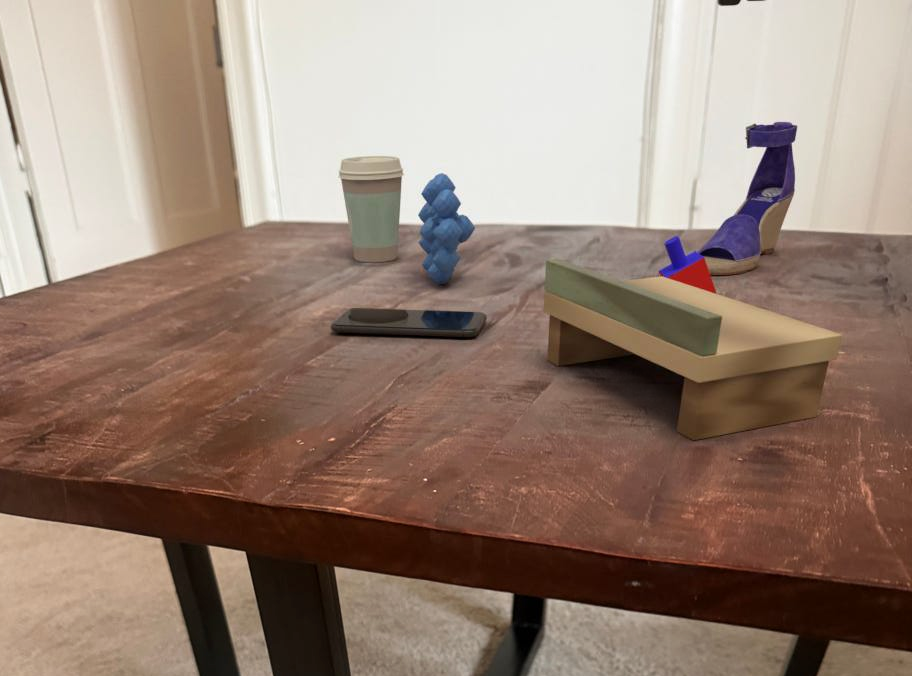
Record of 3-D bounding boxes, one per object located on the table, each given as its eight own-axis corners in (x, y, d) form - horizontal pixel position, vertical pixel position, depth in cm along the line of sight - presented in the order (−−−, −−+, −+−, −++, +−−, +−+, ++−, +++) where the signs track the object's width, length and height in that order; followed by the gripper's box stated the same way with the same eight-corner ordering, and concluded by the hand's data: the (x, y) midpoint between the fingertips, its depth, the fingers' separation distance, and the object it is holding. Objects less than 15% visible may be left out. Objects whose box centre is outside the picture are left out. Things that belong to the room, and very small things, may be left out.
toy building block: (674, 314, 96) (648, 246, 92) (711, 295, 95) (686, 225, 91) (682, 323, 93) (656, 252, 89) (720, 303, 92) (695, 231, 88)
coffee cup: (375, 250, 124) (370, 154, 117) (419, 256, 119) (416, 157, 113) (331, 260, 119) (323, 160, 112) (376, 267, 114) (370, 163, 107)
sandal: (668, 269, 109) (685, 130, 100) (752, 246, 120) (773, 119, 111) (726, 278, 104) (749, 133, 95) (808, 253, 115) (835, 121, 106)
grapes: (488, 291, 101) (489, 175, 94) (431, 296, 100) (429, 178, 93) (463, 271, 110) (462, 164, 104) (411, 275, 109) (407, 167, 103)
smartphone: (488, 319, 90) (349, 315, 93) (488, 311, 90) (348, 306, 92) (476, 339, 84) (328, 334, 87) (476, 330, 84) (327, 325, 86)
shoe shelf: (654, 343, 82) (665, 246, 77) (823, 416, 65) (851, 297, 60) (541, 360, 78) (545, 259, 73) (689, 442, 61) (707, 317, 56)
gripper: (852, -252, 70) (808, -2, 79) (787, -208, 82) (755, 5, 91) (759, -250, 70) (726, 0, 79) (707, -206, 82) (684, 7, 91)
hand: (742, 3), depth 85 cm, fingers open, 8 cm apart
